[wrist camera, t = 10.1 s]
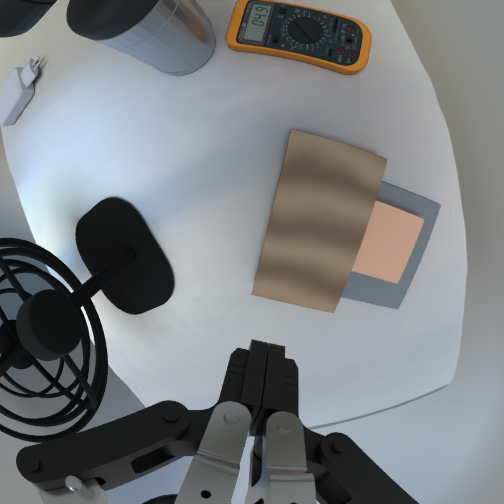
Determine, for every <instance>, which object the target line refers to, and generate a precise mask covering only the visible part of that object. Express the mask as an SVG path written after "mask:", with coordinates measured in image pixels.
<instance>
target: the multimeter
mask: <svg viewBox="0 0 504 504" xmlns="http://www.w3.org/2000/svg"><path fill="white" fill-rule="evenodd" d="M225 40H226V42H227V44H228V46H229V47H230V48H231V49H233V50H235V51H244V52H254V53H262V54H269V55H274V56H280V57H285V58H290V59H295V60H299V61H303V62H307V63H311V64H314V65H318V66H321V67H324V68H328V69H331V70H334V71H337V72H340V73H343V74H355V73H357V72H360V71H361V70H362V69H363V68H364V67H365V66H366V64H367V62H368V57H369V51H370V45H371V33H370V31H369V29H368V28H367V27H366V25H364V24H363V23H362V22H360V21H358V20H356V19H353V18H350V17H346V16H343V15H339V14H335V13H332V12H328V11H323V10H319V9H315V8H310V7H306V6H301V5H296V4H290V3H284V2H278V1H272V0H238V1H237V2H236V5H235V8H234V11H233V14H232V17H231V20H230V23H229V27H228V30H227V33H226V37H225Z"/></svg>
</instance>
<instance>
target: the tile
mask: <svg viewBox="0 0 504 504" xmlns="http://www.w3.org/2000/svg"><path fill="white" fill-rule="evenodd" d="M423 222H424V219H423V218H421V217H420V216H418V215H416V214H414V213H411V212H409V211H406V210H404V209H401V208H399V207H396V206H394V205H391V204H388V203H386V202H383V201H381V200H378V199H376V201H375V204H374V207H373V211H372V214H371V217H370V220H369V223H368V226H367V229H366V232H365V235H364V238H363V241H362V243H361V246H360V249H359V252H358V255H357V257H356V260H355V263H354V265H353V268H352V270H351V271H354V272H357V273H361V274H365V275H368V276H372V277H375V278H379V279H382V280H386V281H390V282H393V283H397V284H398V282H399V280H400V278H401V275H402V273H403V271H404V269H405V267H406V264H407V262H408V260H409V258H410V255H411V253H412V250H413V248H414V246H415V243H416V241H417V238H418V236H419V233H420V230H421V228H422V225H423Z"/></svg>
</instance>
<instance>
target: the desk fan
mask: <svg viewBox="0 0 504 504" xmlns="http://www.w3.org/2000/svg"><path fill="white" fill-rule="evenodd" d="M75 235H76V244H77V248H78V251H79V254H80V256H81V258H82V260H83V262H84V263H85V265H86V267H87V268H88V270H89V271H90V273H91V275H92V277H91V278H90V279H89V280H87V281H86V282H85V283H84V284H81V282H80V281H79V280H78V278H77V277H76V276H75V275H74V273H73V272H72V271H71V270H70V269H69V268H68V267H67V266H66V265H65V264H64V263H63V262H62V261H61V260H60V259H59V258H57V257H56V256H55V255H53V254H52V253H51V252H49V251H48V250H46V249H44V248H42V247H41V246H39V245H36V244H34V243H32V242H29V241H25V240H21V239H16V238H0V247H17V248H5V249H1V250H0V268H1V269H2V271H3V272H4V275H2V276H1V277H0V283H1V282H2V281H3V280H4V279H6V278H8V280H9V281H10V283H11V284H12V286H13V287H14V288H7V289H2V290H0V294H3V293H18V295H19V296H20V298H21V299H22V300H23V302H24V303H23V304H22V306H21V307H20V309H19V311H18V314H17V318H16V320H8V319H7V317H6V315H5V314H4V312H3V310H2V308H1V306H0V318H1V319H2V321H3V324H2V325H1V327H0V354H1V357H0V377H1V376H2V375H3V376H4V378H5V379H6V380H7V381H8V382H10V383H11V384H12V385H13V386H15V387H16V388H18V389H19V390H21V391H22V392H24V393H27V394H21V393H17V392H15V391H12V390H10V389H9V388H7V387H5V386H4V385H3V384H1V383H0V387H1V388H2V389H4V390H5V391H7V392H9V393H11V394H13V395H16V396H19V397H26V398H27V397H28V398H31V397H40V398H54V397H59V396H62V395H65V396H66V397H68V398H69V399H71V401H70V402H69V404H68V405H67V406H66V407H65V408H63V409H62V410H61V411H59V412H58V413H56V414H54V415H51V416H48V417H45V418H38V419H30V418H23V417H21V416H18V415H16V414H14V413H12V412H11V411H9V410H7V409H6V408H4V407H3V406H2V405H0V413H2V414H4V415H5V416H7V417H9V418H11V419H14V420H17V421H20V422H23V423H26V424H29V425H34V426H41V427H49V426H57V425H61V424H64V423H66V422H69V421H71V420H73V419H74V418H76V417H77V416H78V415H80V414H81V413H82V412H83V411H84V410H85V409H87V411H86V413H85V414H84V416H83V417H82V418H81V419H80V420H79V421H78V422H76V423H75V424H74V425H73V426H71V427H70V428H68V429H66V430H64V431H62V432H59V433H56V434H52V435H45V436H35V435H27V434H22V433H19V432H16V431H13V430H11V429H9V428H7V427H4V426H3V425H1V424H0V430H1V431H2V432H4V433H6V434H8V435H10V436H12V437H15V438H18V439H21V440H25V441H29V442H36V443H44V442H48V441H52V440H56V439H59V438H63V437H66V436H69V435H73V434H76V433H77V432H79V431H80V430H81V429H82V428H84V427H85V426H86V425H87V424H88V423H89V421H90V420H91V419H92V418H93V416H94V415H95V413H96V411H97V410H98V408H99V406H100V403H101V401H102V398H103V395H104V392H105V388H106V383H107V375H108V355H107V346H106V340H105V336H104V332H103V328H102V325H101V322H100V319H99V316H98V313H97V311H96V309H95V306H94V304H93V302H92V300H91V297H93V296H94V295H95V294H96V293H97V292H98V291H99V290H100V289H101V290H102V292H103V293H104V294H105V296H106V297H107V298H108V299H109V301H110V302H111V303H112V304H114V305H115V306H116V307H117V308H119V309H120V310H122V311H124V312H126V313H129V314H134V315H137V314H141V313H144V312H146V311H149V310H151V309H153V308H156V307H158V306H161V305H163V304H165V303H166V302H167V301H168V300H169V298H170V297H171V295H172V292H173V287H174V282H173V276H172V272H171V269H170V267H169V264H168V262H167V261H166V259H165V257H164V256H163V254H162V252H161V251H160V249H159V247H158V246H157V244H156V242H155V241H154V239H153V237H152V236H151V234H150V232H149V231H148V229H147V227H146V226H145V224H144V222H143V220H142V219H141V217H140V216H139V215H138V213H137V212H136V211H135V210H134V209H133V208H132V207H131V206H130V205H129V204H127V203H126V202H124V201H122V200H120V199H117V198H107V199H104V200H102V201H100V202H99V203H98V204H97V205H95V206H94V207H93V208H92V209H91V210H90V211H89V212H87V213H86V214H85V215H84V216H83V217H82V218H81V219H80V220H79V222H78V224H77V226H76V233H75ZM9 255H20V256H26V257H30V258H33V259H36V260H38V261H40V262H42V263H44V264H46V265H47V266H49V267H50V268H52V269H53V270H54V271H56V272H57V273H58V274H59V275H60V276H61V277H62V278H63V279H64V280H65V281H66V282H67V283H68V284H69V285H70V287H71V288H72V289H73V291H74V292H72V293H71V292H70V291H69V290H68V289H67V288H66V287H65V286H64V285H63V284H62V283H61V282H60V281H59V280H58V279H56V278H55V277H54V276H52V275H50V274H48V273H47V272H44V271H42V270H41V269H39V268H38V267H36V266H34V265H32V264H29V263H27V262H23V261H20V260H13V259H3V258H2V257H3V256H9ZM8 266H15V267H20V268H17V269H13V270H10V268H9V267H8ZM18 273H33V274H37V275H38V276H40V277H42V278H43V279H44V280H45V281H47V282H48V283H49V284H50V285H51V286H52V287H53V288H54V289H55V290H52V289H47V290H42V291H40V292H38V293H36V294H34V295H32V294H30V293H27V292H26V291H25V290H24V289H23V287H22V286H21V284H20V283H19V281H18V280H17V278H16V277H15V275H14V274H18ZM82 306H83V307H84V309H85V311H86V314H87V316H88V319H89V321H90V324H91V328H92V331H93V336H94V341H95V348H96V365H95V373H94V378H93V381H92V384H91V387H90V385H89V384H88V382H87V379H88V373H89V359H90V336H89V331H88V326H87V323H86V320H85V317H84V314H83V312H82V310H81V307H82ZM80 339H81V342H82V349H83V366H82V369H81V371H80V370H79V369H78V367H77V366H76V364H75V363H74V361H73V360H72V359H71V357H70V356H69V355H68V354H69V353H70V352H71V351H73V350H74V349H75V348H76V347H77V345H78V343H79V341H80ZM36 358H37V359H40V360H44V361H52V360H56V359H58V358H60V365H59V369H58V372H57V375H56V377H55V379H54V378H53V377H52V376H51V375H50V374H49V373H48V372H47V371H46V370H45V369H44V368H43V366H42V365H41V364H40V363H39V362H38V361H37V360H36ZM64 361H65V362H66V364H67V365H68V367H69V368H70V369H71V371H72V372H73V374H74V375H75V377H76V380H75V381H74V382H73V383H72V384H71V385H70V386H69V387H67V388H64V387H63V386H62V385H61V384H60V383H59V382H58V379H59V378H60V376H61V373H62V370H63V366H64ZM32 364H33V365H34V366H35V367H36V368H37V369H38V370H39V371H40V372H41V374H42V375H44V377H45V378H46V379H47V380H48V381H49V382H50V383H51V384H50V386H49V387H47V388H46V389H45V390H43V391H41V392H39V393H37V392H33V391H30V390H28V389H26V388H24V387H22V386H21V385H19V384H18V383H16V382H15V381H14V380H13V379H12V378H11V377H10V376H9V375H8V374H7V373H6V371H7V370H8V369H9V368H10V367H11V366H12V367H14V368H17V369H26V368H28V367H30V366H31V365H32ZM79 383H80V384H79ZM78 384H79V387H78V390H77V392H76V393H75V395H73V394H72V393H71V392H70V391H71V390H73V389H74V388H75V387H76V386H77V385H78ZM54 386H55V387H56V388H57V389H58V390H59V391H60V392H57V393H53V394H45V393H47V392H49V391H50V390H51V389H52V388H53V387H54ZM84 390H85V392H86V394H87V395H86V397H85V398H84V400H82V399H80V398H81V396H82V394H83V392H84ZM76 404H78V405H79V406H78V407H77V408H76V409H75V410H74V411H72V412H71V413H69V414H67V413H68V412H70V411H71V410H72V409H73V408H74V406H75V405H76ZM66 414H67V415H66Z"/></svg>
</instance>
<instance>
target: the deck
mask: <svg viewBox="0 0 504 504" xmlns="http://www.w3.org/2000/svg"><path fill="white" fill-rule="evenodd" d="M386 162H387V159H386V158H384V157H381V156H378V155H375V154H373V153H370V152H367V151H364V150H361V149H358V148H355V147H352V146H349V145H346V144H343V143H340V142H337V141H333V140H330V139H327V138H323V137H320V136H316V135H312V134H309V133H305V132H301V131H297V130H293V129H291V132H290V137H289V141H288V145H287V149H286V154H285V158H284V162H283V166H282V171H281V175H280V179H279V183H278V187H277V191H276V196H275V200H274V204H273V208H272V212H271V216H270V220H269V225H268V229H267V233H266V237H265V241H264V245H263V249H262V253H261V257H260V261H259V265H258V269H257V273H256V277H255V281H254V286H253V290H252V294H251V295H255V296H259V297H264V298H268V299H272V300H276V301H281V302H285V303H289V304H294V305H298V306H303V307H307V308H312V309H316V310H321V311H326V312H331V313H334V312H335V310H336V307H337V305H338V303H339V300H340V298H341V295H342V293H343V291H344V288H345V286H346V283H347V281H348V278H349V276H350V273H351V270H352V268H353V265H354V263H355V260H356V257H357V255H358V252H359V249H360V246H361V243H362V241H363V238H364V235H365V232H366V229H367V226H368V223H369V220H370V217H371V214H372V211H373V207H374V204H375V201H376V198H377V194H378V191H379V187H380V184H381V180H382V177H383V173H384V169H385V165H386Z"/></svg>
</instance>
